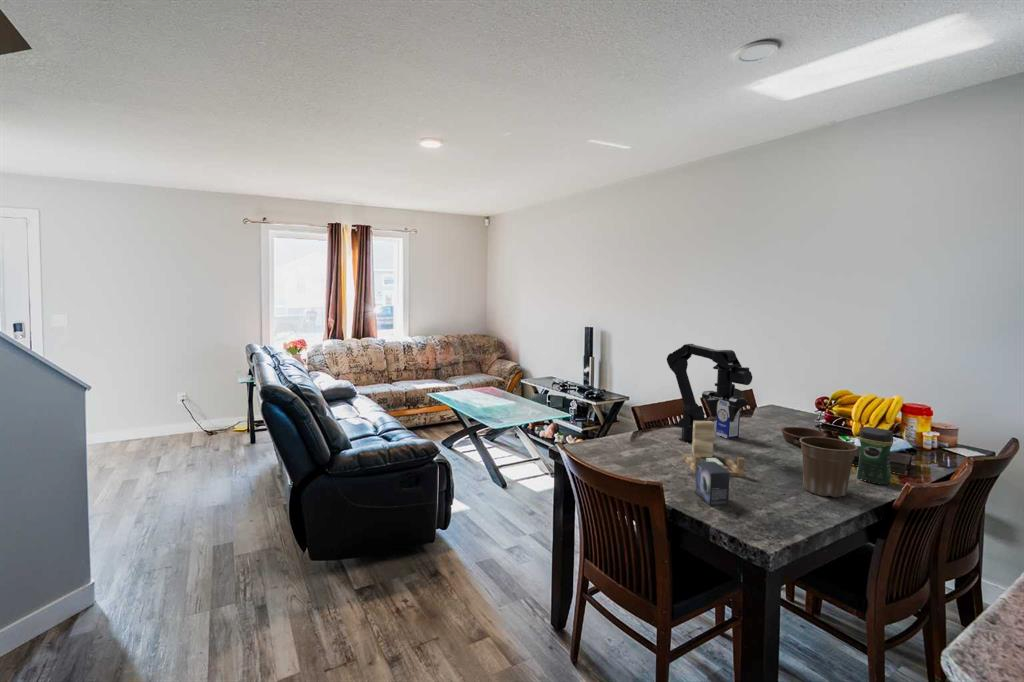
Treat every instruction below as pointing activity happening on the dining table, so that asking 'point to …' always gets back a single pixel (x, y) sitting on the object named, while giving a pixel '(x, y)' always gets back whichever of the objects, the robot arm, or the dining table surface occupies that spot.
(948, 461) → the dining table surface
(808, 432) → the dish
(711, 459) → the offcut top
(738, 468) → the rack
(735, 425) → the milk carton
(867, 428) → the coffee jar
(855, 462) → the diary
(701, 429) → the pale wooden block
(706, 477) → the small box
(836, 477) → the plant pot
